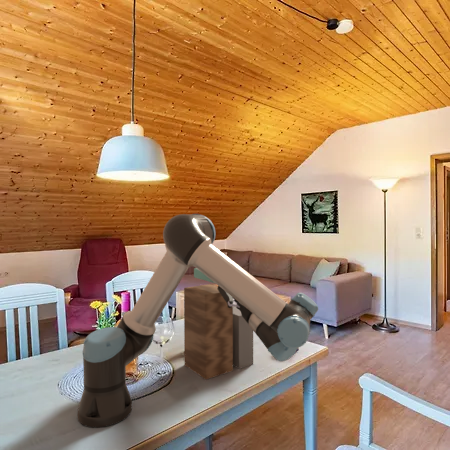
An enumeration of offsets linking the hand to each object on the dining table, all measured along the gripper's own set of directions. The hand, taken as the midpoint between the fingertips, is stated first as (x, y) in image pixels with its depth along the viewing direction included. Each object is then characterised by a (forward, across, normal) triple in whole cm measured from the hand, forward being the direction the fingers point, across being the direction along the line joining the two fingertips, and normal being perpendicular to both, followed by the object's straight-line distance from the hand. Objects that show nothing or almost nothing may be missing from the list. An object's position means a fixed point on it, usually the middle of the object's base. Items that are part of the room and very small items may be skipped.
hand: (220, 270), depth 126 cm
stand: (-12, 0, -37) cm, 39 cm away
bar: (+1, 0, -6) cm, 6 cm away
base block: (-14, +13, -36) cm, 40 cm away
